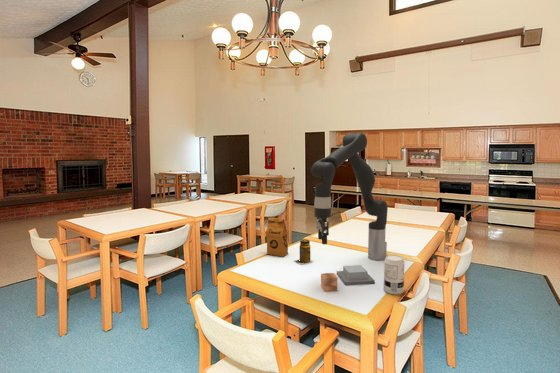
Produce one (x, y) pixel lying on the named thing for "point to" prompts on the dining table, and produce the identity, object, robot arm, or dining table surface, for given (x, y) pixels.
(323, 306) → the dining table surface
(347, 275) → the base
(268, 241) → the coffee package
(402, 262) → the supplement can
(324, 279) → the cube
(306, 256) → the condiment
